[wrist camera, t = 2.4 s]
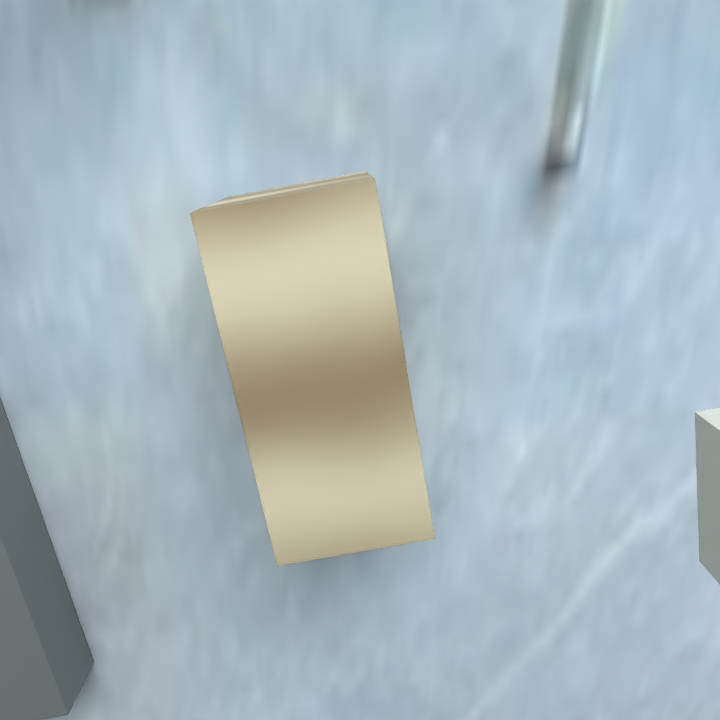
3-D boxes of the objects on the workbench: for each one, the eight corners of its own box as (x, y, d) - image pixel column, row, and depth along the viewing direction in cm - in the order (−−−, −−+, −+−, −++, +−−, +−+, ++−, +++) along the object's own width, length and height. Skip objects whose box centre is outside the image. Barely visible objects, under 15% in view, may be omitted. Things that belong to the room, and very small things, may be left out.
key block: (412, 446, 28) (434, 538, 21) (291, 467, 28) (277, 566, 22) (365, 171, 25) (375, 178, 18) (230, 196, 25) (190, 212, 18)
